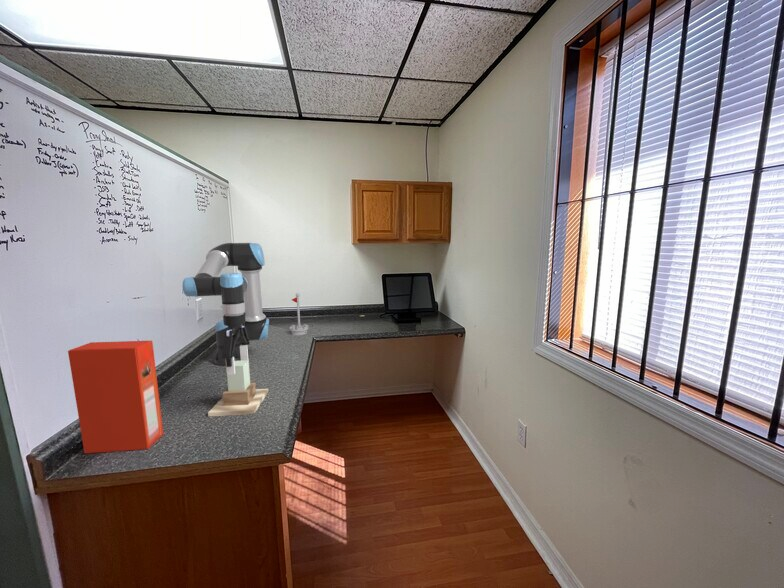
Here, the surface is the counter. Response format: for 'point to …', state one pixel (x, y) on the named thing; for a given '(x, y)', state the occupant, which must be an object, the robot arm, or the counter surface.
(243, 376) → the sage pillar
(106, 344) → the file binder
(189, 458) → the counter surface
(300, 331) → the flag stand
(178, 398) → the counter surface
